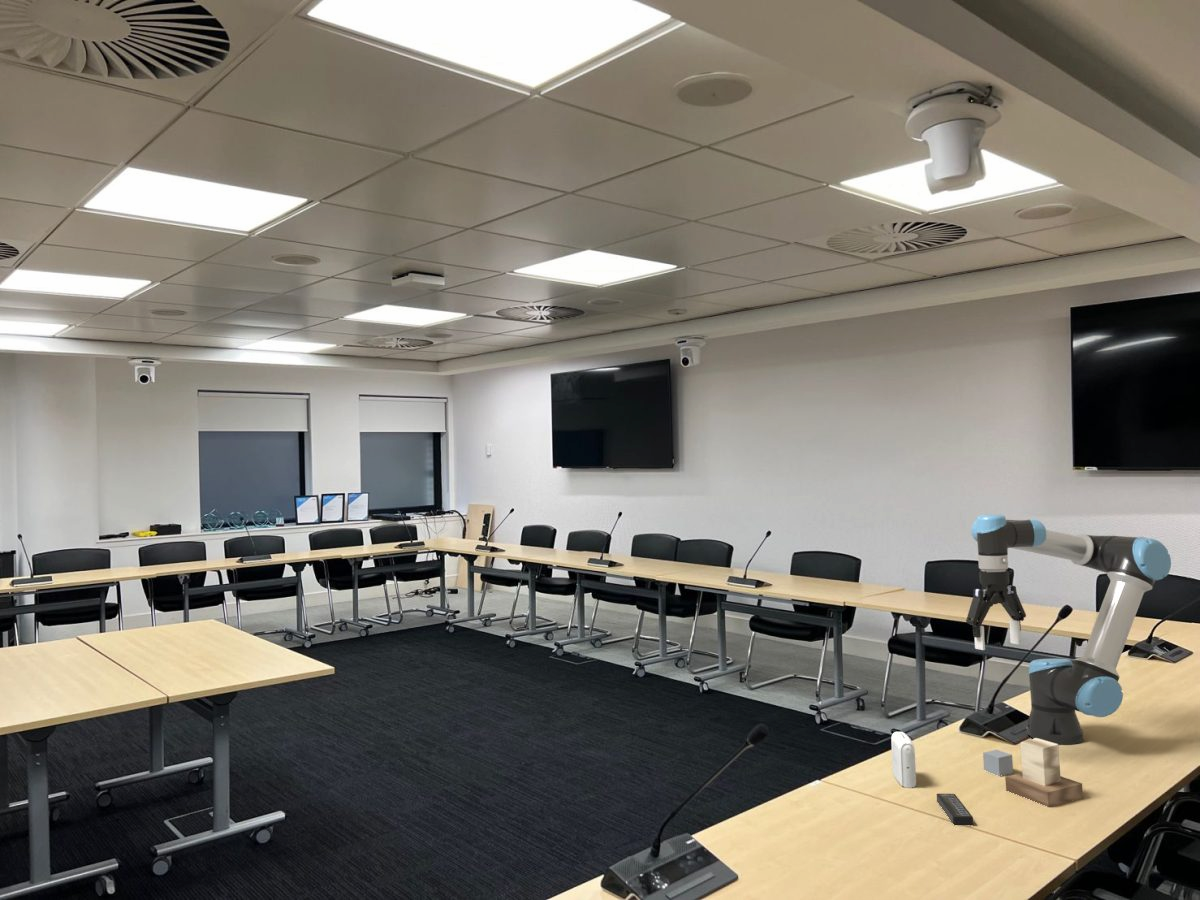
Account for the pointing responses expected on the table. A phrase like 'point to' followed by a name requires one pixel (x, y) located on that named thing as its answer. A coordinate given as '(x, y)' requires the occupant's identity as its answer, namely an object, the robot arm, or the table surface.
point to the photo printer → (903, 759)
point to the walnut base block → (1045, 790)
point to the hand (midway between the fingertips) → (998, 646)
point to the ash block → (1040, 761)
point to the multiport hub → (955, 809)
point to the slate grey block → (998, 762)
